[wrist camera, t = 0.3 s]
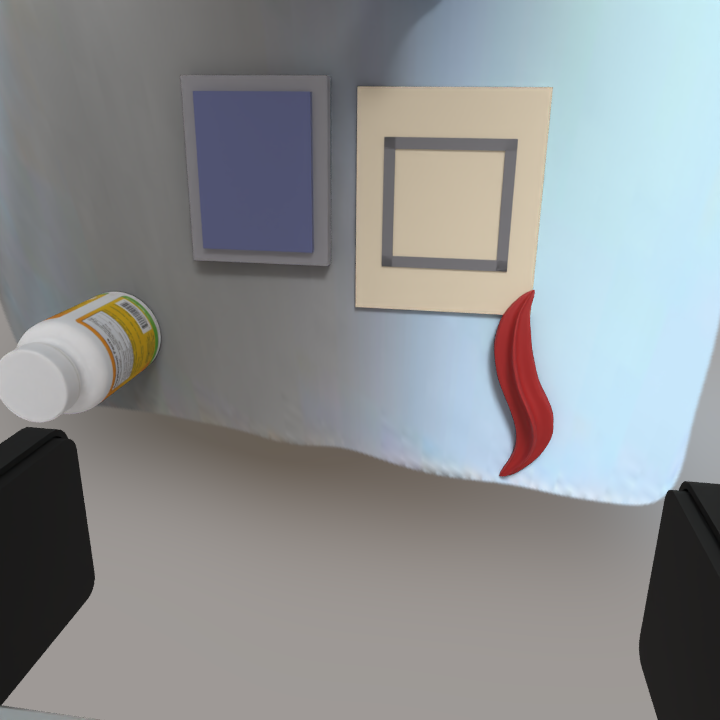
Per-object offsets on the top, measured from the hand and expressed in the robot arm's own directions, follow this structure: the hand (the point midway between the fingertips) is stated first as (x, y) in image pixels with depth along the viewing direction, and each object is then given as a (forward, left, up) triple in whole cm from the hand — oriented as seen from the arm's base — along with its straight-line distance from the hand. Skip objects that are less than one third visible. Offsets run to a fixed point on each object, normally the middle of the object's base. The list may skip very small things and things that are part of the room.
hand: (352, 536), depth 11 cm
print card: (-2, 0, -29) cm, 29 cm away
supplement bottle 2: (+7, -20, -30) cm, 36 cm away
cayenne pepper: (+9, +5, -29) cm, 31 cm away
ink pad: (-3, -10, -29) cm, 31 cm away
